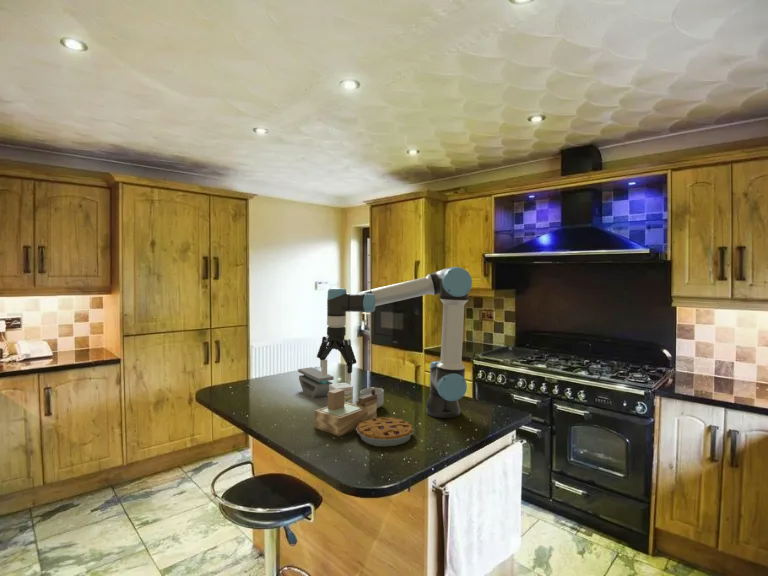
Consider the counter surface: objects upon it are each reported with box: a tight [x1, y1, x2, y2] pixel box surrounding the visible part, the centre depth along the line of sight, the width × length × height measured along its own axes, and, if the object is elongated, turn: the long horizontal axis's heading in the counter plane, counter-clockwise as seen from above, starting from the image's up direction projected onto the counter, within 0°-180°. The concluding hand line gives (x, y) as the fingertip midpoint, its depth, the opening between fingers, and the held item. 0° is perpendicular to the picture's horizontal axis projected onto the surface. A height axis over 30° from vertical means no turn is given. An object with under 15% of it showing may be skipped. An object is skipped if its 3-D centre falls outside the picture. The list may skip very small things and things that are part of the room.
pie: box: [355, 416, 415, 447], centre depth 160 cm, size 22×22×5 cm
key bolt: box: [358, 389, 377, 406], centre depth 178 cm, size 2×9×5 cm, turn 142°
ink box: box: [329, 382, 354, 404], centre depth 190 cm, size 8×8×12 cm
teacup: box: [359, 386, 385, 409], centre depth 197 cm, size 14×11×8 cm
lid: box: [321, 388, 362, 417], centre depth 170 cm, size 11×13×8 cm
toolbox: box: [314, 399, 378, 437], centre depth 173 cm, size 14×23×9 cm, turn 142°
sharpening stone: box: [297, 366, 335, 399], centre depth 217 cm, size 25×8×11 cm, turn 35°
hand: (335, 378), depth 172 cm, fingers open, 13 cm apart
